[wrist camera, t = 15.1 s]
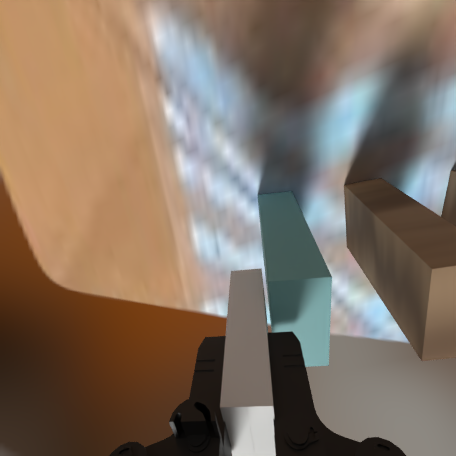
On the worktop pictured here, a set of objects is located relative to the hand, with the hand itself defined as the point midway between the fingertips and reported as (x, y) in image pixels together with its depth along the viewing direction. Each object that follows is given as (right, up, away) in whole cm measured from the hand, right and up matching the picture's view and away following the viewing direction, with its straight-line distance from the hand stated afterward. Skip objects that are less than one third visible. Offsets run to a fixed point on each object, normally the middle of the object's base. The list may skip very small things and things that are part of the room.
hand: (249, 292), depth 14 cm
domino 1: (+3, +3, +7) cm, 8 cm away
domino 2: (+9, +4, +6) cm, 11 cm away
